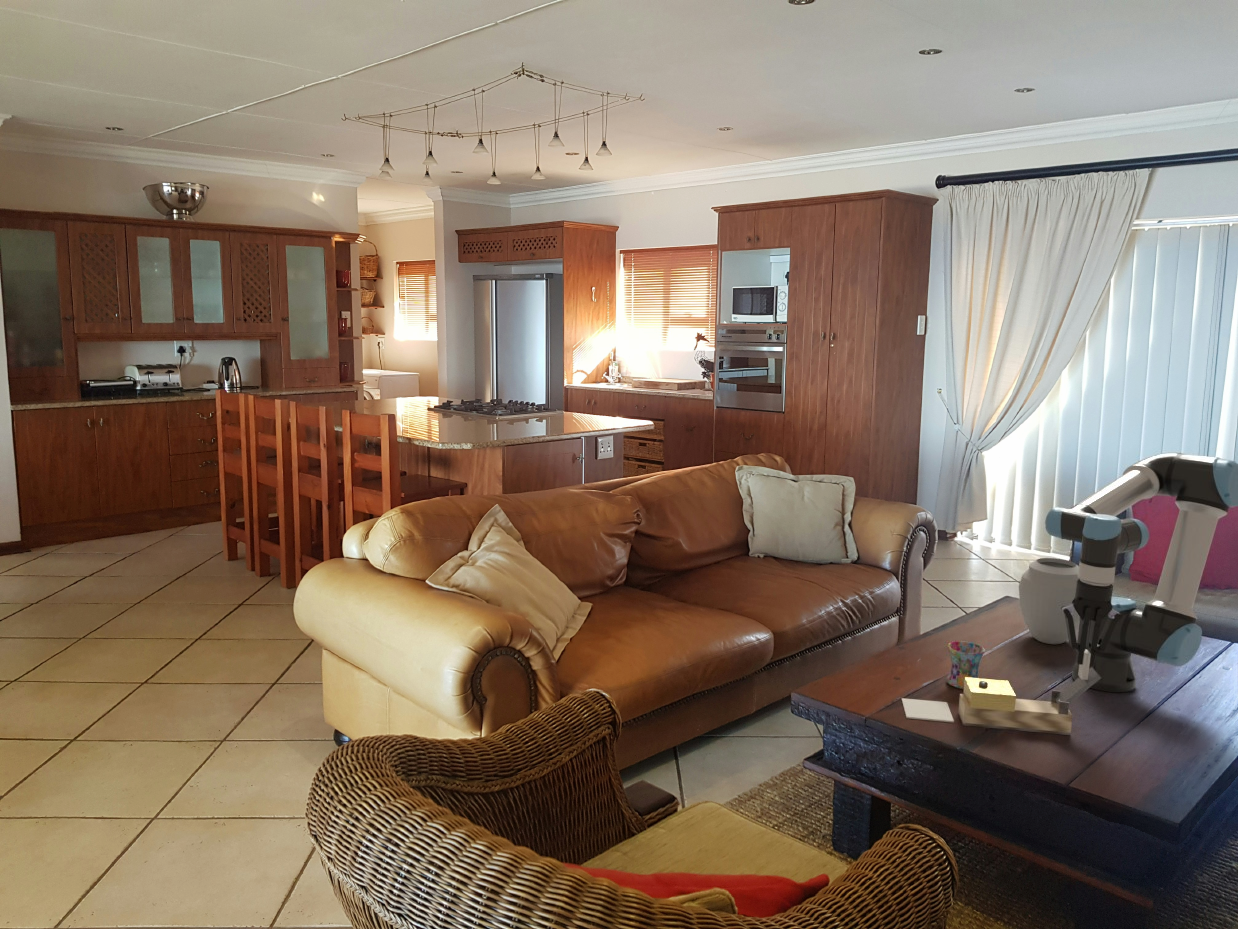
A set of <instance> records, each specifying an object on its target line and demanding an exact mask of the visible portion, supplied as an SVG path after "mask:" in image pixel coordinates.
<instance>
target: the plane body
mask: <svg viewBox="0 0 1238 929" xmlns="http://www.w3.org/2000/svg"><path fill="white" fill-rule="evenodd" d="M1060 692H1062V690H1054V689H1052V690H1051V697H1050V701H1048V700H1047V701H1046V700H1038V699H1037V700H1035V699H1025V698H1016V702H1015V712H1012V711H1001V710H990V709H979V708H970V706H969V704H968V702H967V700H966V697H965V695H964V693H959V699H958V700H959V701H958V710H957V711H958V712H957V713H958V715H959V718H960V721H961V723H962V725H963V726H967V727H968V726H969V727H978V728H979V727H981V728H989V729H991V728H992V729H1001V730H1011V731H1020V732H1021V731H1023V732H1031V733H1042V734H1044V733H1045V734H1055V735H1066V736H1071V732H1072V725H1073V714H1072V712H1071V711H1070V709H1069V706H1070V704H1069V702H1063V701H1059V705H1058V703H1057V702H1056V700H1055V699H1054V696H1056V695H1058V694H1059V693H1060Z"/></svg>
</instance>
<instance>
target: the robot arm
mask: <svg viewBox="0 0 1238 929" xmlns="http://www.w3.org/2000/svg"><path fill="white" fill-rule="evenodd" d="M1156 496H1166V497H1173V498H1176V499H1175V502H1174V505H1176V506H1177V508H1178V509H1179V512H1178V516H1177V519H1176V522H1175V526H1174V530H1173V533H1172V536H1171V539H1170V543H1169V545H1168V546H1169V547H1168V550H1167V554H1166V557H1165V560H1164V563H1163V567H1162V571H1161V574H1160V577H1159V581H1158V585H1157V587H1156V592H1155V594H1154V598H1153V599H1152V600H1150V601H1147V602H1146V603H1145V605H1144V609H1139V608H1138V603H1137V601H1136V600H1134V599H1131V598H1126V597H1121V596H1119V597H1118V596H1113V591H1114V585H1113V583H1115V576H1116V575H1115V574H1116V567H1117V559H1118V555H1119V554H1123V553H1129V552H1136V551H1137V550H1140V549H1142V548H1144V547H1145V546H1146V545H1147V543H1148V542H1149V540H1150V531H1149V529H1148V527H1147V525H1146V524H1145V523H1144V522H1143V521H1142V520H1139V519H1137V518H1124V519H1120V518H1119V517H1117V516H1118V515H1120V514H1121V513H1123V512H1124V511H1126V510H1128V509H1129V508H1131V507H1132V506H1134V505H1135V504H1137V503H1138V502H1140V501H1141V500H1148V499H1151V498H1153V497H1156ZM1236 507H1238V462H1236V461H1234V460H1230V459H1226V458H1220V457H1214V456H1213V457H1212V456H1204V455H1196V454H1195V455H1194V454H1186V453H1182V452H1165V453H1159V454H1155V455H1153V456H1149V457H1145V458H1144V459H1141V460H1138V461H1137V462H1135V463H1133V464H1131V465H1130V466H1128V467H1127V468H1125V469H1124V471H1123V472H1122V475H1121V476H1119V477H1117V479H1115V480H1113V481H1112V482H1110V483H1108V484H1107V485H1104V486H1103V487H1101V488H1100V489H1099V490H1097V491H1095V492H1093V493H1092V494H1091V495H1089V496H1088V497H1086V498H1084V499H1083V500H1081V501H1079V502H1078V503H1076V504H1075V505H1072V506H1071V507H1070V508H1065V507H1056V506H1055V507H1053V508H1051V509H1050V510H1049V511H1048V512H1047V514H1046V516H1045V522H1044V524H1045V531H1046V532H1047V534H1048V535H1050V536H1051V537H1054V538H1059V539H1061V540H1066V541H1071V542H1076V543H1080V544H1081V549H1080V558H1079V563H1078V564H1079V565H1078V566H1079V570H1078V578H1080V579H1078V580H1077V585H1076V593H1075V598H1074V600H1073V601H1072V604H1071V605H1068V606H1066V607H1065V606H1062V607H1061V610H1062V612H1063V613H1064V615H1065V620H1066V627H1067V633H1068V640H1067V641H1068V644H1069V646H1070V647H1071V648H1072V649H1074V650H1076V654H1075V655H1076V657H1075V663H1074V665H1073V668H1072V675H1071V677H1072V679H1073V680H1074V681H1075V680H1076V679H1077V678H1079V677H1080V678H1081V679H1083V680H1088V672H1089V669H1090V668H1091V667H1092V668H1093V669H1094V670H1095V671H1096V672H1097V673H1098V674H1099V676H1100V677H1101V679H1100V680H1098V681H1097V682H1096V683H1095V684H1093V685H1092V686H1091V687H1090V688H1091V689H1093V690H1098V691H1103V692H1107V693H1108V692H1109V693H1129V692H1131V691H1134V690H1135V688H1136V683H1137V680H1136V675H1135V671H1134V667H1133V662H1132V658H1131V656H1132V654H1133V655H1136V656H1139V657H1142V658H1146V659H1149V660H1152V661H1154V662H1158V664H1159V663H1160V664H1161V665H1162V664H1163V665H1169V666H1172V667H1183V666H1185V665H1186V664H1188V663H1189V662H1190V661H1191V660H1193V658H1194V657H1195V655H1196V654H1197V652H1198V650H1199V648H1200V646H1201V643H1202V640H1203V636H1202V635H1203V630H1202V627H1201V626H1199V625H1198V624H1197V620H1198V617H1197V616H1196V613H1194V610H1193V607H1194V603H1195V601H1196V597H1197V593H1198V590H1199V586H1200V583H1201V580H1202V577H1203V572H1204V569H1205V566H1206V562H1207V559H1208V555H1209V552H1210V549H1211V547H1212V546H1211V545H1212V542H1213V539H1214V535H1215V532H1216V528H1217V525H1218V522H1219V520H1220V519H1221V518H1224V517H1225V516H1227V515H1228V513H1229V509H1230V508H1236ZM1074 609H1075V610H1076V612H1077V613H1078V615H1079V616H1080V618H1079V620H1080V624H1079V626H1078V632H1077V635H1076V631H1075V627H1074V621H1073V617H1072V615H1073V614H1074Z"/></svg>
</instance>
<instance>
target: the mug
mask: <svg viewBox="0 0 1238 929" xmlns="http://www.w3.org/2000/svg"><path fill="white" fill-rule="evenodd" d="M947 648H948V651H949V655H950V661H951V662H950V663H951V664H950V666H951V667H950V671H949V674H948V676H947V677H946V682H947V684H949V685H950V686H952V687H955V688H957V689H961V690H964V680H965V677H968V678H979V667H980V663H981V659H982V657H983V656H984V654H985V653H986V649H985V648H984V647H983V645H981V644H978V643H975V642H970V641H963V640H962V641H961V640H960V641H959V640H958V641H957V640H955V641H951V642H948V643H947Z"/></svg>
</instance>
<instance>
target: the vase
mask: <svg viewBox="0 0 1238 929" xmlns="http://www.w3.org/2000/svg"><path fill="white" fill-rule="evenodd" d="M1078 570H1079V565H1078V564H1077V563H1075V562H1073V561H1070V560H1067V559H1062V558H1054V557H1053V558H1052V557H1042V558H1041V557H1040V558H1038V559H1036V560H1034V561H1032V562H1030V563H1029V564H1028V569H1027V570H1025V572H1023V573H1022V574H1021V578H1020V582H1019V584H1018V596H1019V597H1018V598H1019V607H1020V610H1021V614H1022V617H1023V621H1024V623H1025V625H1026V628H1027V629H1028V631H1029V633H1030V634H1031V636H1032V637H1033V638H1034V639H1035V640H1037V641H1038V642H1041V643H1043V644H1047V645H1060V644H1063V643H1065V642H1066V641H1069V640H1068V633H1067V627H1066V620H1065V615H1064V613H1063V612H1062V610H1061V607H1062V606H1065V607H1066V606H1068V605H1071V604H1072V601H1073V600H1074V598H1075V593H1076V585H1077V580H1078V579H1080V578H1078ZM1072 617H1073V621H1074V627H1075V632H1076V631H1077V630H1078V629H1079V624H1080V620H1079V618H1080V616H1079V615H1078V613H1077V612H1076V610H1075V609H1074V614H1073V615H1072Z"/></svg>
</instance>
